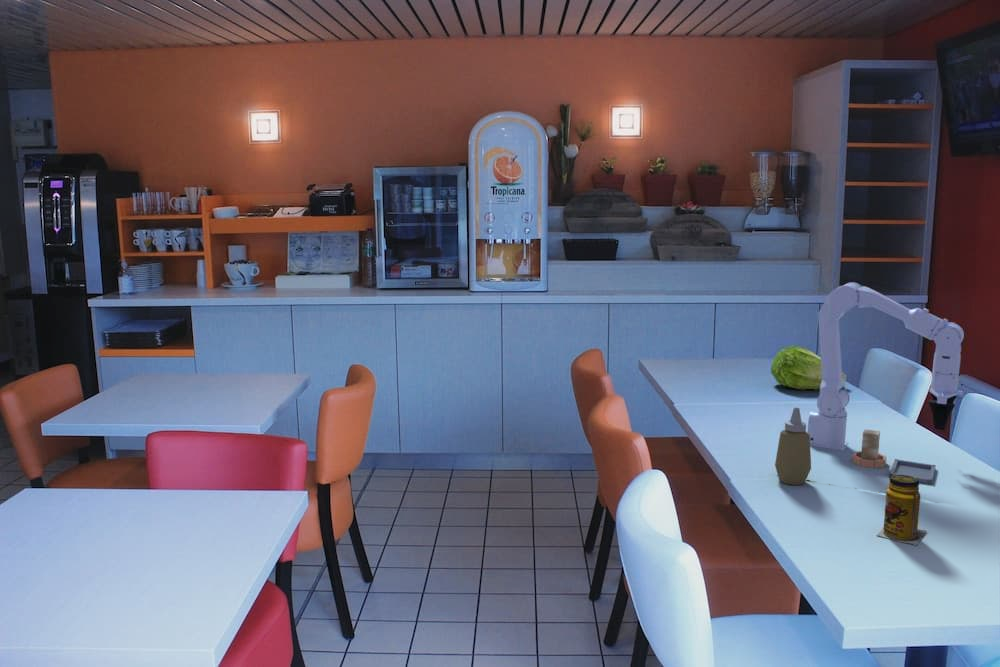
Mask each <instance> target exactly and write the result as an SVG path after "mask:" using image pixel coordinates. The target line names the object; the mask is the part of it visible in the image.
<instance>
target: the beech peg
mask: <svg viewBox="0 0 1000 667" xmlns="http://www.w3.org/2000/svg"><path fill="white" fill-rule="evenodd" d="M880 436H881V430H874V429H868V428H867V429H866V428H864V430H863V431H862V440H861V458H862V459H868V460H878V453H879V450H880V449H879V448H880V447H879V446H880Z"/></svg>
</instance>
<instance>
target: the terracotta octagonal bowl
mask: <svg viewBox="0 0 1000 667" xmlns="http://www.w3.org/2000/svg"><path fill="white" fill-rule="evenodd" d="M861 451H862V450H861ZM861 451H860V450H859V451H854V452H853V454H852V459H851V462H852V463H854V465H857V466H860V467H864V468H871V469H878V468H879V469H880V468H881V469H882V468H886V466H887V456H886V455H883V454H882V453H879V452H878V460H868V459H862V458H861Z"/></svg>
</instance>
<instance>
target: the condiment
mask: <svg viewBox="0 0 1000 667" xmlns="http://www.w3.org/2000/svg"><path fill="white" fill-rule="evenodd" d="M919 485H920V483H919V480H918V479H916V478H914V477H912V476H908V475H892V476H891V477H890V478H889V482H888V488H887V489H886V494H885V506H884V519H883V520H884V521H883V527H882V528H881V530H880V531H879V532H878V533H877V534H876V536H877V537H882V538H886V539H888V540H893V541H896V542H901V543H906V544H909V545H910V544H911V545H915V546H917V545H918V544H919V543H920V541H921V540H922V539H923V537H924V535H925V534H926V533H927V531H928V530H927V529H920V528H919V527H918V526H919V517H920V506H921V505H920V502H921V494H920V491H919V490H920V488H919Z"/></svg>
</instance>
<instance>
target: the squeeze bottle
mask: <svg viewBox="0 0 1000 667" xmlns="http://www.w3.org/2000/svg"><path fill="white" fill-rule="evenodd" d="M791 413H792V414H791V416H790V420H786V421H785V423H784V429H783V430H781V431H780V433H779V439H778V445H777V450H776V457H775V461H774V462H775V463H774V467H775V470H776V474H777V478H778V479H779V481H780V482H782V483H784V484H787V485H794V486H795V485H796V486H800V485H804V484H805V483H806V481H807V478H808V476H809V475H810V472H811V469H812V458H811V445H810V435H809V434H808V431H807V424H806V422H803V421H802V417H801V410H800V408H799V407H793V408H792V412H791Z"/></svg>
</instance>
